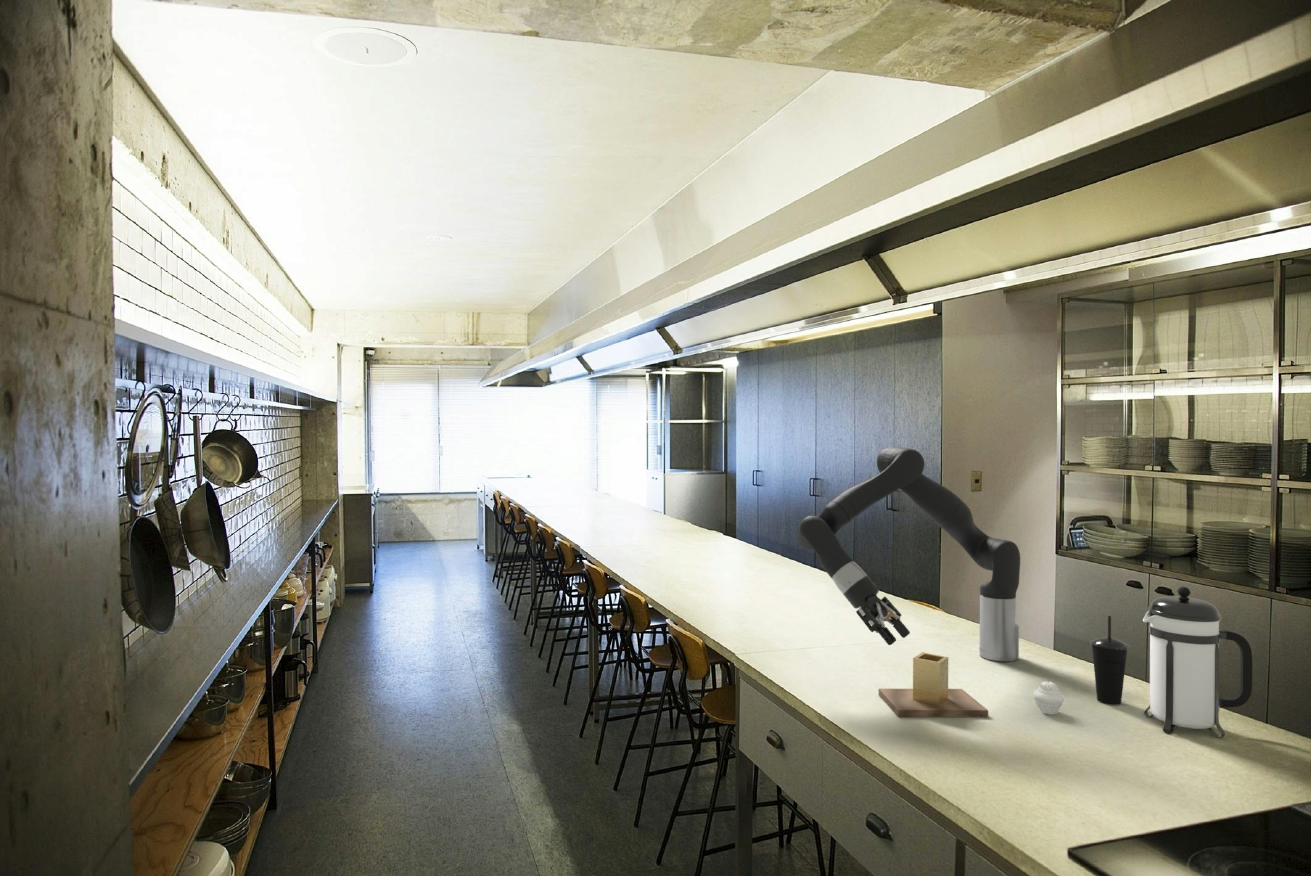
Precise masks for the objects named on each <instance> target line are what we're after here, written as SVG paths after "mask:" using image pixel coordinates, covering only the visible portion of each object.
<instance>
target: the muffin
mask: <svg viewBox="0 0 1311 876" xmlns="http://www.w3.org/2000/svg"><path fill="white" fill-rule="evenodd" d="M1032 696H1033V698H1034V701H1035V704H1036V705H1037V707H1038V709H1039V711H1040V712H1041V713H1042V714H1045V715H1050V716H1051V715H1052V716H1055V715H1056V714H1057V713H1058V712H1059V710H1061V708H1062V706H1063V703H1064V700H1065V697H1064V695H1063V694H1062V693H1061V692H1060V690H1059V689H1058V686H1057V684H1056V683H1054V682H1051V681H1049V680H1048V681H1042V682H1040V683H1039V687H1037V689H1036V690H1034V692H1033V694H1032Z"/></svg>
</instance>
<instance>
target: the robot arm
mask: <svg viewBox="0 0 1311 876" xmlns="http://www.w3.org/2000/svg"><path fill="white" fill-rule="evenodd" d="M876 466H877V470H878V474H877V475H875V476H874V477H871V478H870V479H868V480H866V481H864V482H862V483H858V484H857V485H855V486H853V487H850V488H848V489H846V490H845V491H843V492H842V493H840V494H839V495H838V496H836V497H835V498H834V499H832V500H831V501H829V503H828V504H826V506H824V508H823V509H822V511H821V512H820V514H818V515H809V516H806V517H804V518H803V519H802V521H800V524H799V527H798V528H799V529H798V532H797V540H798V544H799V546H801V548H802V549H805V550H806V551H814V552H815V553H816V555H817V557H818V561H819V564H820V565H821V568H823V569H824V571H825V572H826V573H827V575H828V576H829V577H830V578H831V580H832V581H833V583H834V584H835V586H836V587H837V589H838V590H839V591H840V592H841V594H842V595H843V596H844V598H845V599H846V600H847V601H848V602H849V603H850V605H851V606H852V607H853V608H854V609H857V610H856V611H855V612H856V614H857V616H858V617H859V619H861V621H862V622H863V624H865V626H866V627H867V628H868V629H869V631H870V632H871V633H873V632H875V633H877V634H879V636H880V637H881V638H882V639H883V641H884V642H885V643H886V644H887V645H888V646H891V645H893V644H894V643H895V642H896V641H897V638H896V637H895V636H894V634H893V633H892V632H891V630H889V628H888V627H887V626H886V625H885V622H887V623H889V624H890V625H892V627H893V629H895V631H896V632H897V633H898V634H899V635H900V636H901V638H903V639H904V638H905V639H906V637H908V635H910V634H911V631H910V630H909V629H908V628H907V626H906V625H905V624H904V623H903V622H902V620H901V617H902V614H901V612H900V611H899V610H898V609H897V608H896V607H895V605H894V604H893V603H892V602H891V601H890V600H889V599H888V598H887V597H886V596H883V597H882V598H879V596H877V595H878V594H879V592H880V589H879V588H878V587H877V585H876V584H875V582H873V580H872V579H871V578H870V577H869V576H868V575H867V573H866V572H865V571H864V570H863V568H862V567H860V565H859V564H857V563H856V562H855V561H854V560H853V559H852V557H851V556H850V555H849V553H848V552H847V551H846V550H845V549H844V548H843V547H842V545H841V544H840V542H839V539H838V538H837V537H836V534H837V533H838V532H839V531H840V530H841V529H842V528H844V527H845V526H846V525H848V524H849V523H851V522H852V521H853V520H854V519H856V518H857V517H858V516H860V515H861V514H862V513H864V512H865V511H866V510H867V509H869V508H871V507H872V506H874V505H875V504H876V503H878V502H880V501H882V500H883V499H885V498H886V497H888V496H890V495H891V494H893V493H895V492H896V491H898V490H900V491H901V492H903V493H904V494H905V495H906V496H908V497H909V498H910V499H911V500H912V501H913V502H914V503H915V504H916V505H917V506H918V507H919V508H920V509H921V510H922V511H923V512H924V513H925V514H926V515H927V516H928V517H929V518H930V519H931V520H932V521H933V522H935V524H936V525H938V526H939V527H940V528H941V529H942V530H944V531H945V532H946V534H948V535H949V536H950V537H951V538H952V539H954V540H955V542H957V543H958V544H959V545H960V546H961V547H962V548H963V550H964V551H965V552H966V553H967V555H969V556H970V558H971V559H972V560H973V561H974V562H975V564H976V565H977V566H979V567H980V568H982V569H985V570H987V571H990V572H991V571H992V576H991V580H990V581H988V582H983V583H981V585H980V586H979V656H980V657H981V658H984V659H987V660H990V661H997V662H1012V661H1017V660H1018V661H1019V660H1020V659H1019V657H1020V656H1019V655H1020V651H1019V650H1020V649H1019V647H1020V645H1019V644H1020V643H1019V642H1020V641H1019V640H1020V628H1019V627H1020V626H1019V625H1018V624H1016V623H1017V621H1016V620H1017V619H1016V618H1017V615H1016V612H1017V610H1016V609H1017V608H1016V606H1017V605H1016V604H1017V602H1016V601H1017V598H1016V597H1017V590H1018V588H1019V585H1020V573H1021V571H1020V569H1021V554H1020V549H1019V547H1018V546H1017V544H1016V543H1015V542H1013V541H1011V540H1009V539H1008V540H1006V539H1000V538H995V537H991V536H989V535H987V534H986V533H985V532H983V531H982V530H981V529H980V528H979V527H978V526H977V525H976V524H975V522H974V519H973V514H972V512H971V509H970V508H969V506H968V505H967V504H966V503H965V502H964V501H963V500H962V499H961V498H960V497H959V496H958V495H957V494H955V492H953V491H952V490H951V489H949V488H947V487H945V486H943V485H942V484H940V483H938V482H937V481H934V480H933V479H931V478H929V477H928V476H926V475H925V474H923V473H924V470H925V459H924V457H923V454H921V453H920V451H917V449H913V448H909V447H901V446H900V447H899V446H890V447H886V448H884V449H882V450H881V451H880V452H879V453H878V455H877V458H876Z"/></svg>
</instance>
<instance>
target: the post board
mask: <svg viewBox="0 0 1311 876" xmlns="http://www.w3.org/2000/svg"><path fill="white" fill-rule="evenodd" d="M878 696H879V697H880V699H881V700H883V702H884V703H885V704H886V705H887V707H889V709H891V711H892V712H893V713H894V714H895V715H896V716H897V718H899V717H900V718H903V717H904V718H916V717H917V718H945V717H946V718H989V710H988V709H987V708H986V707H985V705H982V704H981V703H980V702H979V701H978V700H976V698H974V697H973V696H971V695H970V694H969V693H967V691H965V690H964V689H963V688H948V699H947V700H946V701H944V702H943V703H942V704H941V705H935V704H931V703H926V702H922V701H918V700H913V688H878Z"/></svg>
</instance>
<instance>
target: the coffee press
mask: <svg viewBox="0 0 1311 876" xmlns="http://www.w3.org/2000/svg"><path fill="white" fill-rule="evenodd" d="M1177 593H1178V595H1179V596H1178V595H1177V596H1176V595H1164V596H1161V597H1156V598H1155V599H1153V600H1152V602H1151V604H1150V605H1149V606H1148V607H1147V612H1146V613H1145V614H1144V617H1143V619H1142V622H1143V623H1148V633H1149V634H1150V635H1149V705H1148V707H1147V708H1146V709H1145V710H1144V711H1143V713H1144V716H1145V717H1147V718H1151V717H1153V716H1154V717H1155V718H1156V719H1158V720H1160V721H1162V722H1163V723H1164V724H1163V726H1162V731H1163V732H1164V733H1166V734H1170V735H1172V734H1173V733H1174V731H1175V729H1176V728H1177V727H1182V728H1187V729H1196V730H1199V729H1200V730H1202V729H1203V730H1204V729H1205V730H1206V729H1207V730H1209V731H1210V732H1211V733H1212V734H1213V736H1215V738H1217V739H1221V738H1223V737H1225V736H1226V731H1224V729H1223V728H1222V726H1221V724H1220V721H1219V720H1220V719H1219V717H1220V716H1219V712H1220V708H1238V707H1241V706H1243V705H1245V704H1246V703H1247V702H1248V701H1249V700H1250V697H1251V695H1252V691H1253V690H1252V689H1253V653H1252V648H1251V646H1250V644H1249V642H1248V640H1247V639H1246V638H1245V637H1244V636H1243V635H1240V634H1238V633H1236V632H1234V631H1230V630H1220V621H1221V620H1222V614H1221V613H1219V610H1218V609H1217V607H1216V606H1215V605H1214V604H1212V603H1210V602H1208V601H1206V600H1202V599H1199V598H1195V597H1189V596H1190V595H1191V590H1190V589H1189V588H1188V587H1187V586H1181V587H1179V588H1178V589H1177ZM1221 639H1223V640H1227V641H1229V640H1230V641H1233V642H1234V643H1236V644H1237V646H1238V648H1239V651H1240V677H1239V678H1240V684H1239V691H1238V693H1237V694H1236V695H1235V696H1234V697H1231V698H1224V697H1223V698H1221V697H1219V695H1220V693H1219V691H1220V690H1219V689H1220V687H1219V686H1220V685H1219V684H1220V681H1219V680H1220V649H1219V648H1220V647H1219V645H1220V642H1221ZM1149 710H1150V713H1151V714H1152V715H1151V714H1149V712H1148V711H1149ZM1215 726H1216V728H1217V730H1218V731H1219V732H1220V734H1221V735H1220V734H1219V733H1218V732H1217V731H1216V730H1215V729H1214V728H1213V727H1215Z"/></svg>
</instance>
